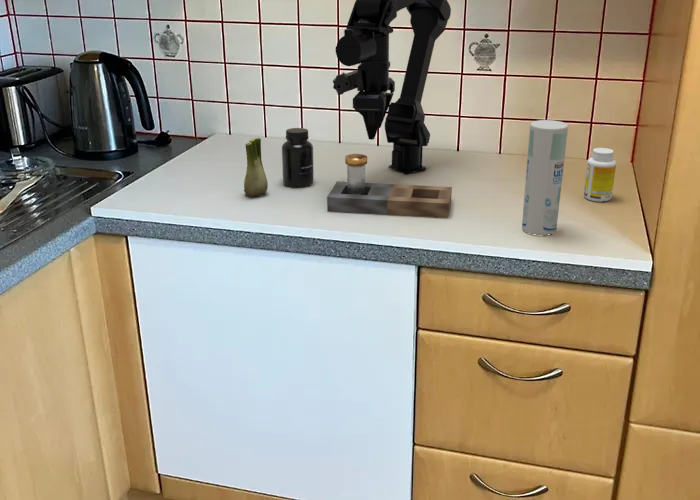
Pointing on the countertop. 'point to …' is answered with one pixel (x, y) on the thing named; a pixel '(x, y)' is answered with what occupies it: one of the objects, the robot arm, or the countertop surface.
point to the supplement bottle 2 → (600, 175)
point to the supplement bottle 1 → (297, 159)
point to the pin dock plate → (392, 200)
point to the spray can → (544, 176)
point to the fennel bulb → (255, 170)
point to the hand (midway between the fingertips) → (374, 133)
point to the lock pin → (356, 173)
